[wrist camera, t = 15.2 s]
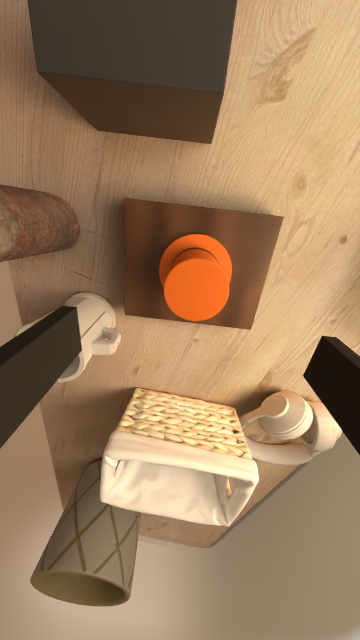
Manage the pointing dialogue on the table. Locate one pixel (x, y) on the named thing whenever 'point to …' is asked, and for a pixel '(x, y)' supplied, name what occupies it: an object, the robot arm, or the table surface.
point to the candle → (34, 223)
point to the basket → (178, 460)
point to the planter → (90, 549)
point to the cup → (89, 331)
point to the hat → (195, 276)
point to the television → (137, 62)
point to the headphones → (291, 429)
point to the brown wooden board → (179, 220)
